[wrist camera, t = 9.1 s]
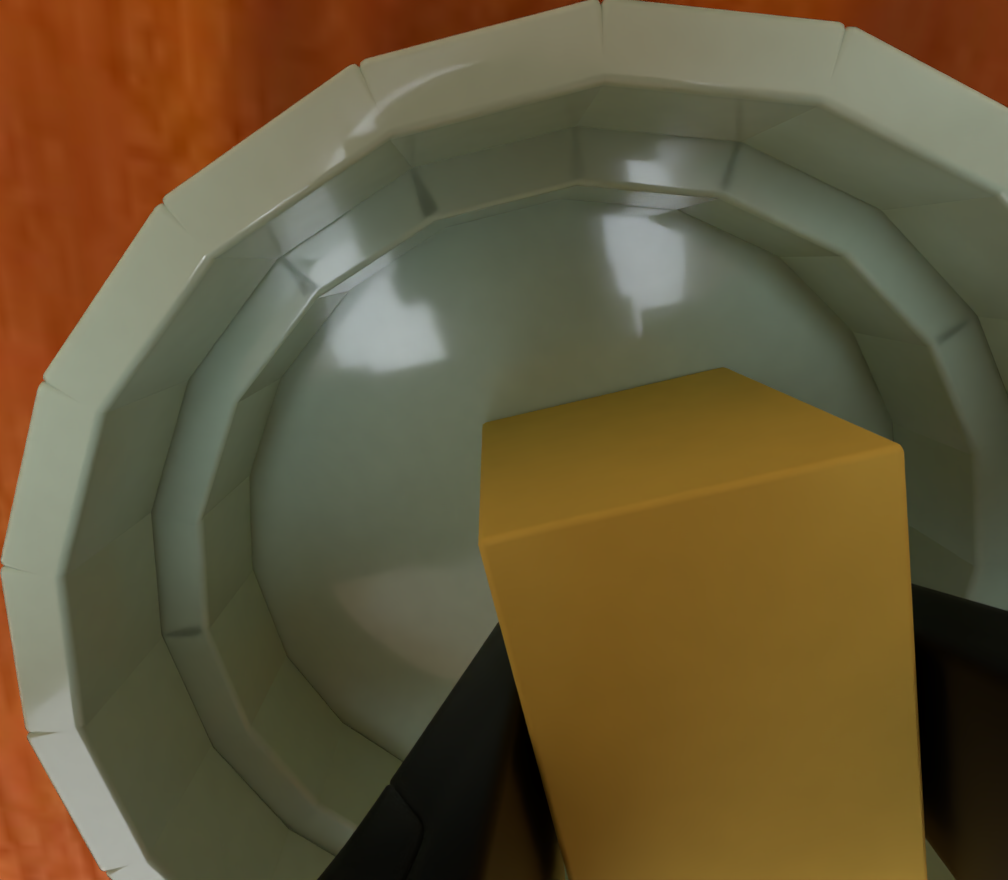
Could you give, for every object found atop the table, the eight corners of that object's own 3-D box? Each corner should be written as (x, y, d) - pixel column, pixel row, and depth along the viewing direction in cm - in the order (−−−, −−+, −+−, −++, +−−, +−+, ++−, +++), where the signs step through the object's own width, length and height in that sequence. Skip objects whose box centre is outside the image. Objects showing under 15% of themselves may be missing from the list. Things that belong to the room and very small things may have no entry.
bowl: (943, 734, 12) (1179, 979, 8) (332, 863, 12) (257, 1155, 8) (914, 23, 8) (1301, -193, 4) (73, 238, 9) (-265, 220, 5)
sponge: (771, 706, 10) (935, 963, 7) (563, 750, 11) (607, 1026, 7) (725, 365, 9) (907, 443, 5) (481, 422, 9) (476, 540, 5)
